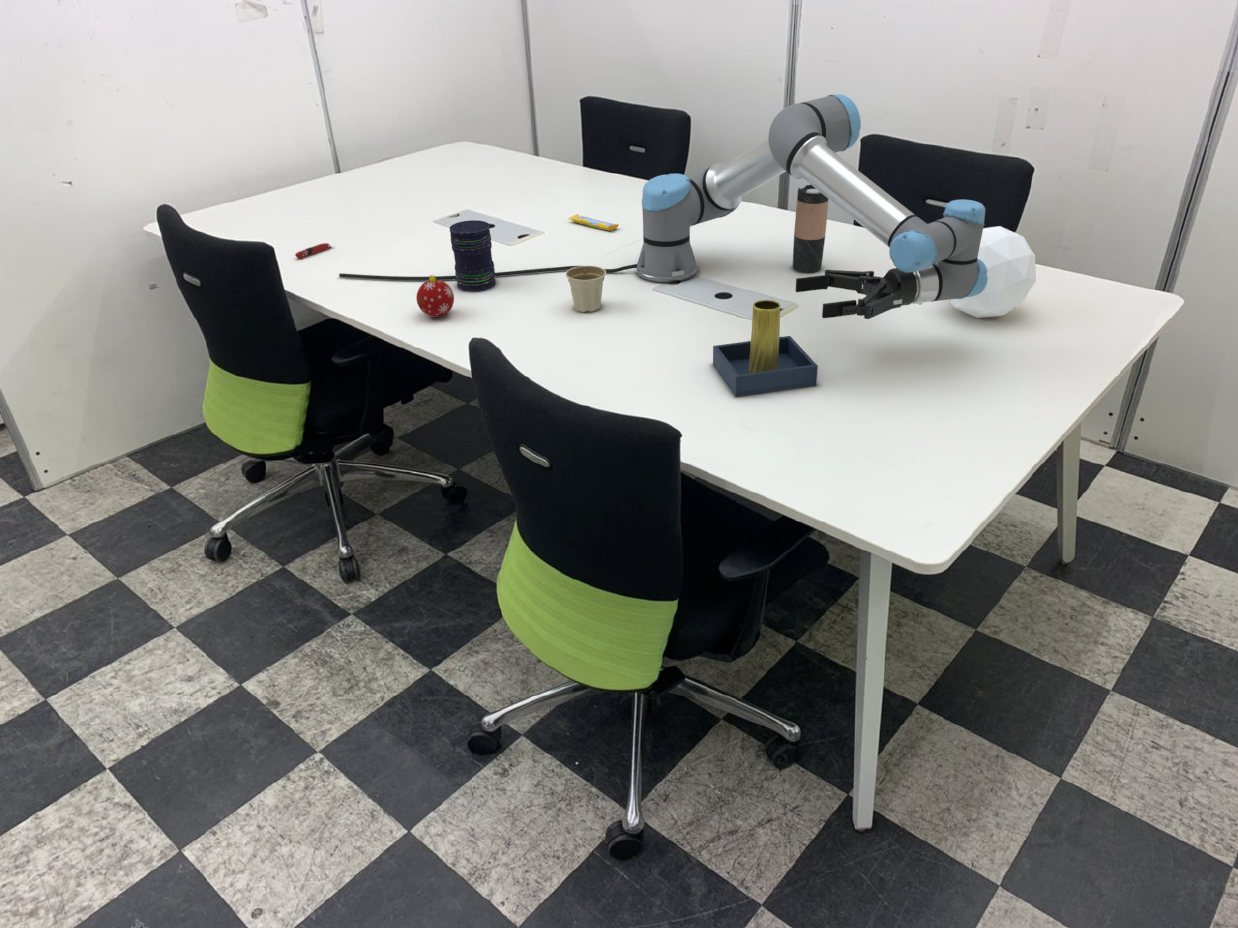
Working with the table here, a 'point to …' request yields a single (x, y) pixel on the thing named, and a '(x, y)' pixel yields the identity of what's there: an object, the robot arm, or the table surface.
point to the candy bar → (593, 223)
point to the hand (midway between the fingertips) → (809, 298)
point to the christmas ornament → (435, 297)
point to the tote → (790, 375)
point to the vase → (764, 336)
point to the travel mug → (809, 230)
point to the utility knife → (312, 250)
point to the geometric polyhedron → (1001, 274)
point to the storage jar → (472, 255)
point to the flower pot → (586, 287)
